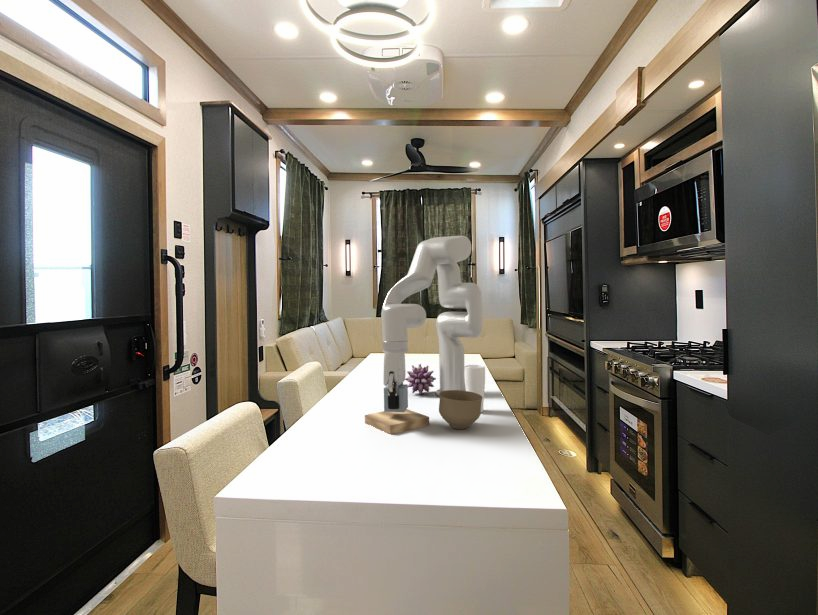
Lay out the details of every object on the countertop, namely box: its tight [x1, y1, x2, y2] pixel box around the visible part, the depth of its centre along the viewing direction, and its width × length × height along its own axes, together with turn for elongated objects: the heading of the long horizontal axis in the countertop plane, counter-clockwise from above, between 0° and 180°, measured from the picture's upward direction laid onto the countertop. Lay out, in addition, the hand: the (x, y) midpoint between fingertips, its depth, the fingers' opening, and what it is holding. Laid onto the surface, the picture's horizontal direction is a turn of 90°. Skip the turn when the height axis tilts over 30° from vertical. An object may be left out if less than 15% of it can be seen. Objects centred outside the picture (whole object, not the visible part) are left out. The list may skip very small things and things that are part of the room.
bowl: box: [438, 390, 482, 430], centre depth 134 cm, size 13×13×10 cm
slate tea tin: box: [383, 383, 409, 412], centre depth 139 cm, size 6×6×7 cm
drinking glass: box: [464, 364, 486, 413], centre depth 151 cm, size 7×7×15 cm
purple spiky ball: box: [404, 363, 437, 395], centre depth 177 cm, size 12×12×12 cm
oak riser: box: [364, 408, 430, 435], centre depth 139 cm, size 14×14×3 cm
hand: (396, 405), depth 139 cm, fingers closed on slate tea tin, 6 cm apart
